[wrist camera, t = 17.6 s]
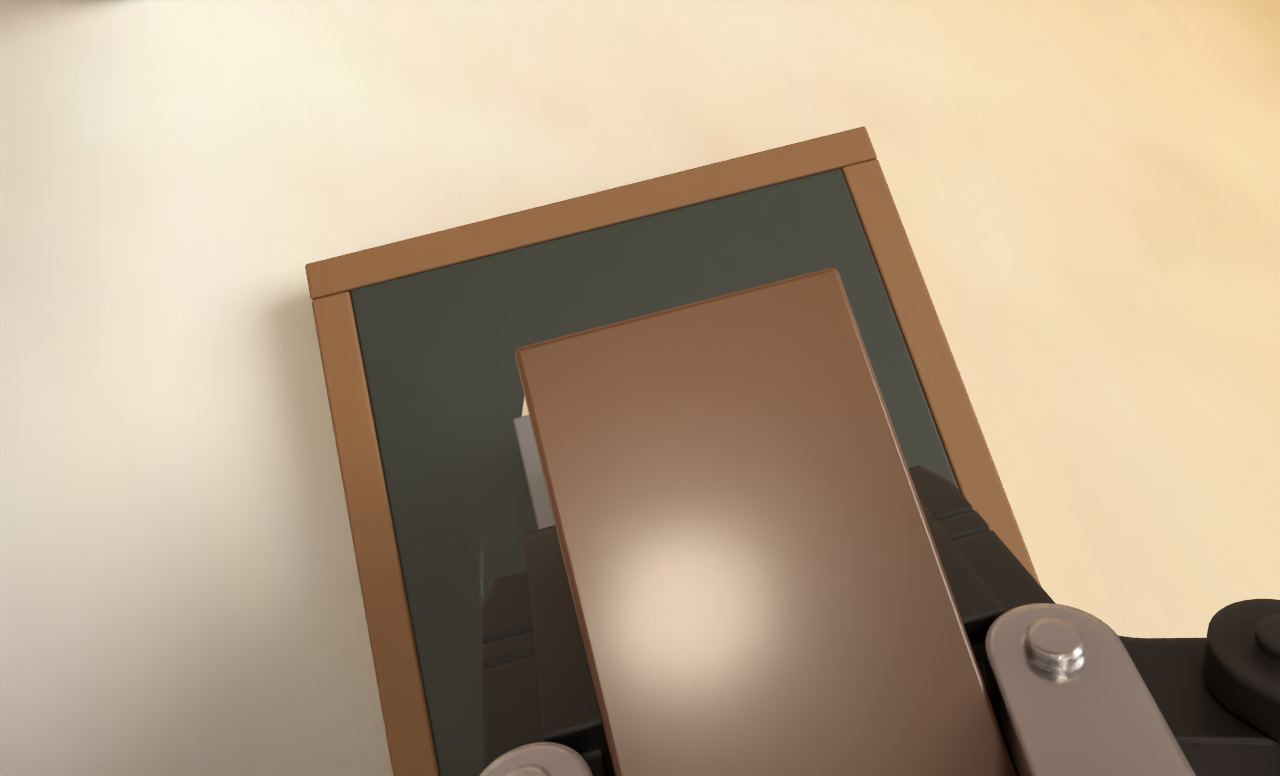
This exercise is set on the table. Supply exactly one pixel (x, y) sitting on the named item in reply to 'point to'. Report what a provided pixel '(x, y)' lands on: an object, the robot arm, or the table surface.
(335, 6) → the table surface
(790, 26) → the table surface
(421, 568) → the chalkboard
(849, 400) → the eraser
